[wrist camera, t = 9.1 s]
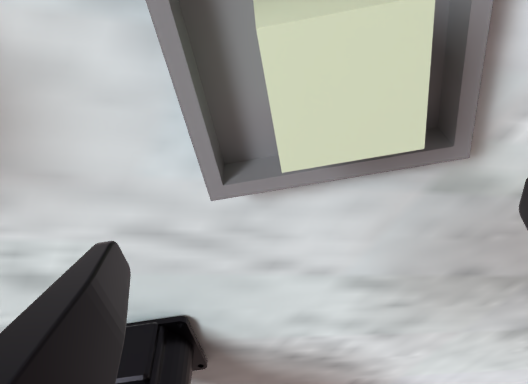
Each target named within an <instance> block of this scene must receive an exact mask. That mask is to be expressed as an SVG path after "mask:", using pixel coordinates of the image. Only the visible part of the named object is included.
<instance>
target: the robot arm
mask: <svg viewBox="0 0 528 384" xmlns="http://www.w3.org/2000/svg"><path fill="white" fill-rule="evenodd" d="M519 213H520V216H521V218H522V220H523V222H524V224H525V226H526V228H527V230H528V178H527V179H526V182H525V185H524V189H523V193H522V196H521V200H520V204H519ZM130 275H131V274H130V267H129V265H128V263H127V261H126V259H125V257H124V255H123V253H122V251H121V249H120V247H119V246H118V244H117V243H116V242H114V241H108V242H101V243H97V244H95V245H94V246H93V247H92V248H91V249H90V250H89V251H87V252H86V253H85V254H84V255H83V256H82V257H81V258H80V259H79V260H78V261H77V262H76V263H75V264H74V265H73V266H71V267H70V268H69V269H68V270H67V271H66V272H65V273H64V274H63V275H62V276H61V277H60V278H59V279H58V280H57V281H55V282H54V283H53V284H52V285H51V286H50V287H49V288H48V289H47V290H46V291H45V292H44V293H43V294H42V295H41V296H39V297H38V298H37V299H36V300H35V301H34V302H33V303H32V304H31V305H30V306H29V307H28V308H27V309H26V310H25V311H23V312H22V313H21V314H20V315H19V316H18V317H17V318H16V319H15V320H14V321H13V322H12V323H11V324H10V325H9V326H7V327H6V328H5V329H4V330H3V331H2V332H1V333H0V384H191V376H192V371H194V370H201V369H205V368H206V367H207V359H206V357H205V355H204V353H203V351H202V348H201V346H200V344H199V342H198V340H197V338H196V336H195V334H194V332H193V330H192V328H191V325H190V323H189V321H188V319H187V318H185V317H182V316H181V317H173V318H166V319H159V320H152V321H146V322H139V323H132V324H126V321H127V310H128V298H129V287H130Z"/></svg>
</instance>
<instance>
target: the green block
mask: <svg viewBox="0 0 528 384" xmlns="http://www.w3.org/2000/svg"><path fill="white" fill-rule="evenodd" d="M253 3H254V13H255V23H256V31H257V37H258V42H259V48H260V54H261V59H262V65H263V70H264V76H265V81H266V87H267V93H268V98H269V104H270V109H271V115H272V121H273V126H274V132H275V137H276V143H277V148H278V154H279V160H280V165H281V171H282V173H284V172H290V171H296V170H302V169H308V168H314V167H320V166H326V165H332V164H338V163H344V162H349V161H355V160H361V159H367V158H373V157H379V156H385V155H391V154H397V153H403V152H409V151H415V150H421V149H424V147H425V133H426V120H427V106H428V93H429V79H430V66H431V52H432V38H433V25H434V11H435V0H253Z"/></svg>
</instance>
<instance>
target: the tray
mask: <svg viewBox="0 0 528 384" xmlns="http://www.w3.org/2000/svg"><path fill="white" fill-rule="evenodd" d="M146 3H147V6H148V9H149V12H150V15H151V18H152V21H153V24H154V27H155V30H156V34H157V37H158V40H159V43H160V46H161V49H162V52H163V55H164V58H165V61H166V64H167V67H168V70H169V73H170V77H171V80H172V83H173V86H174V89H175V92H176V95H177V98H178V101H179V104H180V107H181V110H182V113H183V116H184V120H185V123H186V126H187V129H188V132H189V135H190V138H191V141H192V144H193V147H194V150H195V153H196V156H197V159H198V163H199V166H200V169H201V172H202V175H203V178H204V181H205V184H206V187H207V190H208V193H209V196H210V199H211V201H214V200H220V199H226V198H232V197H238V196H244V195H250V194H256V193H262V192H268V191H274V190H280V189H286V188H292V187H298V186H304V185H310V184H316V183H322V182H328V181H334V180H340V179H346V178H352V177H358V176H364V175H370V174H376V173H382V172H388V171H394V170H400V169H406V168H412V167H418V166H424V165H430V164H435V163H441V162H447V161H453V160H459V159H465V158H469V157H470V150H471V144H472V137H473V131H474V124H475V117H476V111H477V104H478V98H479V91H480V85H481V78H482V71H483V65H484V58H485V52H486V45H487V38H488V32H489V25H490V19H491V12H492V6H493V0H435V11H434V25H433V38H432V52H431V66H430V79H429V93H428V106H427V120H426V133H425V147H424V149H421V150H415V151H409V152H403V153H397V154H391V155H385V156H379V157H373V158H367V159H361V160H355V161H349V162H344V163H338V164H332V165H326V166H320V167H314V168H308V169H302V170H296V171H290V172H284V173H282V171H281V165H280V160H279V154H278V148H277V143H276V137H275V132H274V126H273V121H272V115H271V109H270V104H269V98H268V93H267V87H266V81H265V76H264V70H263V65H262V59H261V54H260V48H259V42H258V37H257V31H256V23H255V13H254V3H253V0H146Z"/></svg>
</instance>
